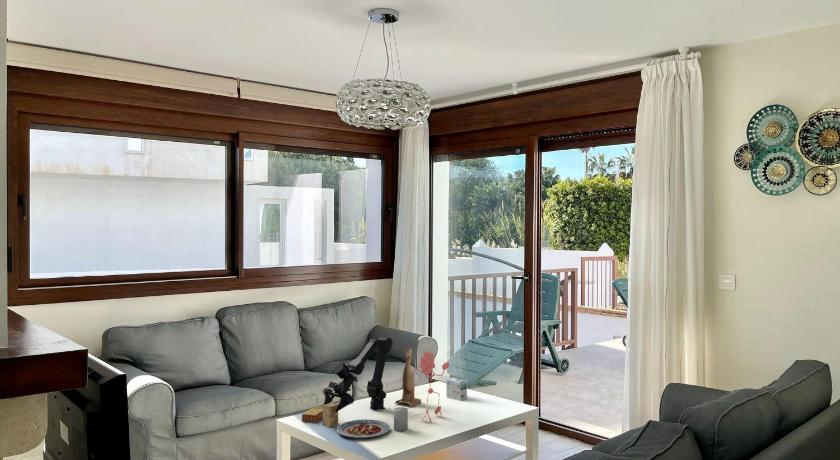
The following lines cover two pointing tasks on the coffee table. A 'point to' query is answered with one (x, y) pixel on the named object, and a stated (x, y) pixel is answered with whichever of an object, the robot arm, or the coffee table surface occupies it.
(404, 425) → the grey tapered cylinder
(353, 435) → the ceramic plate
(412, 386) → the bird sculpture
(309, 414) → the carton
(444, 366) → the figurine
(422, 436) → the coffee table surface
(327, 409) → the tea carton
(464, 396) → the light bulb box
